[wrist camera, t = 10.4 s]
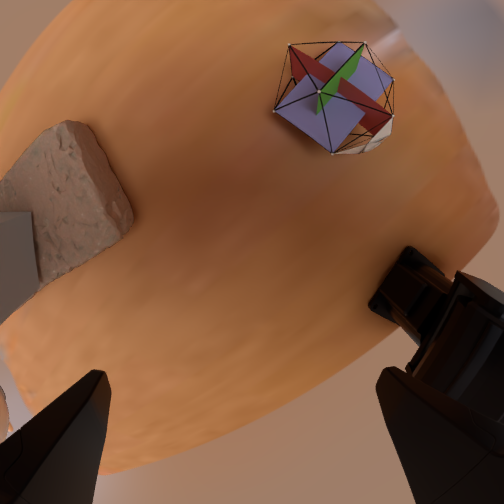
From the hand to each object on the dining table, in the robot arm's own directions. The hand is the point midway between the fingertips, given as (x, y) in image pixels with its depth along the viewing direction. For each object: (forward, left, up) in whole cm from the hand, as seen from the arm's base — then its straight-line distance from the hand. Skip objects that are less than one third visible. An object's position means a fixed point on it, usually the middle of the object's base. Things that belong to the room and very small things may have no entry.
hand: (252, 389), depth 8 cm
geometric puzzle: (0, -12, -13) cm, 18 cm away
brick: (+14, +6, -14) cm, 21 cm away
